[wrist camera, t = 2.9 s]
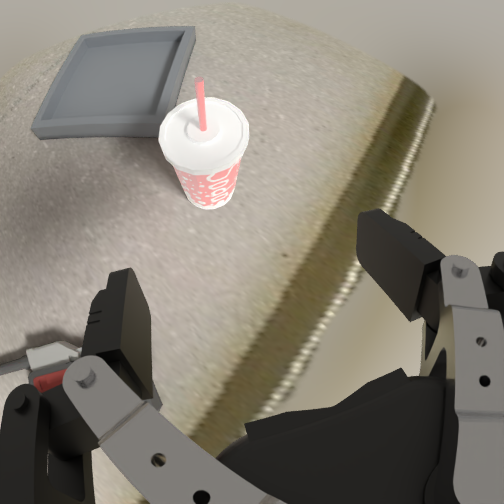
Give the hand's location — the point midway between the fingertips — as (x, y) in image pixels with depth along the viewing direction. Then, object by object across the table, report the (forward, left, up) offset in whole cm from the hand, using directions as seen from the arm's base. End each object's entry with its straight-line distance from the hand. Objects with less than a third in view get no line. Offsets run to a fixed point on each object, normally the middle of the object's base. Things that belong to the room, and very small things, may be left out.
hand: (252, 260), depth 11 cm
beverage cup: (-4, +10, -16) cm, 19 cm away
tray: (-17, +23, -16) cm, 33 cm away
